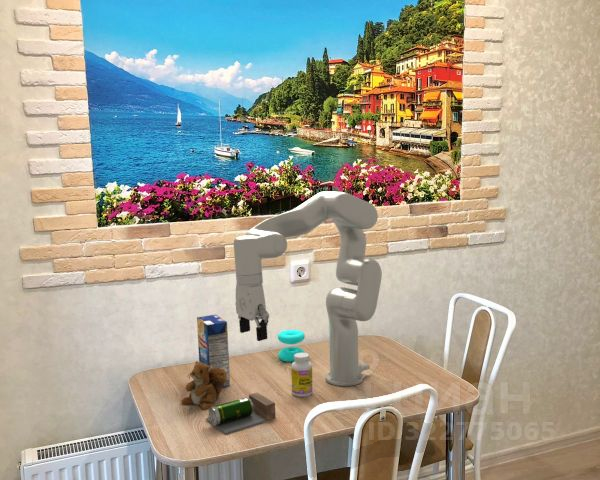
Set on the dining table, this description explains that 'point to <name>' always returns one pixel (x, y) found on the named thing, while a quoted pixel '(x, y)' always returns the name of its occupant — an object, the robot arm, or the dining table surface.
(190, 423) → the dining table surface
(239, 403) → the beer can
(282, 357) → the donuts
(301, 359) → the supplement bottle
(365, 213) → the robot arm
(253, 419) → the rubber mat
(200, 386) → the stuffed squirrel
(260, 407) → the walnut ledge
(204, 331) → the beverage box
